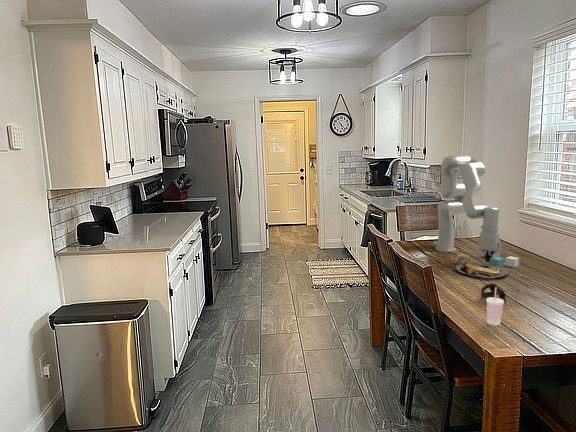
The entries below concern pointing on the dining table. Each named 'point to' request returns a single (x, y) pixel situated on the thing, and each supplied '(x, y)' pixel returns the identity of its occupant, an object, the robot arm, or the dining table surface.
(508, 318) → the dining table surface
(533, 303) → the dining table surface
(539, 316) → the dining table surface
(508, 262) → the white block
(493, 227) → the robot arm
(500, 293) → the pottery mug
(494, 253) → the medicine box
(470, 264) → the food plate
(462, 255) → the maple block
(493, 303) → the beverage cup
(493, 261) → the teal block
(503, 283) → the dining table surface
